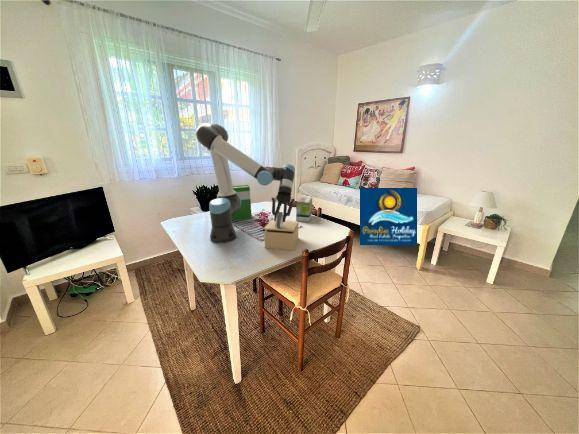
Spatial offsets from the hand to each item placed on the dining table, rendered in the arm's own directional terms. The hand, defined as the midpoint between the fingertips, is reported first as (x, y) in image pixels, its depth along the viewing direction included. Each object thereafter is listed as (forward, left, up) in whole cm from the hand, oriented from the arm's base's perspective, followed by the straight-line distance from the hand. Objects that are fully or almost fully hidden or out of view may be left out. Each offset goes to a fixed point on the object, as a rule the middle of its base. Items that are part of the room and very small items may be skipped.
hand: (278, 226), depth 118 cm
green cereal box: (-18, +56, -13) cm, 61 cm away
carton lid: (+4, +7, -3) cm, 9 cm away
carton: (+4, +7, -13) cm, 15 cm away
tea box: (+29, +43, -13) cm, 54 cm away
